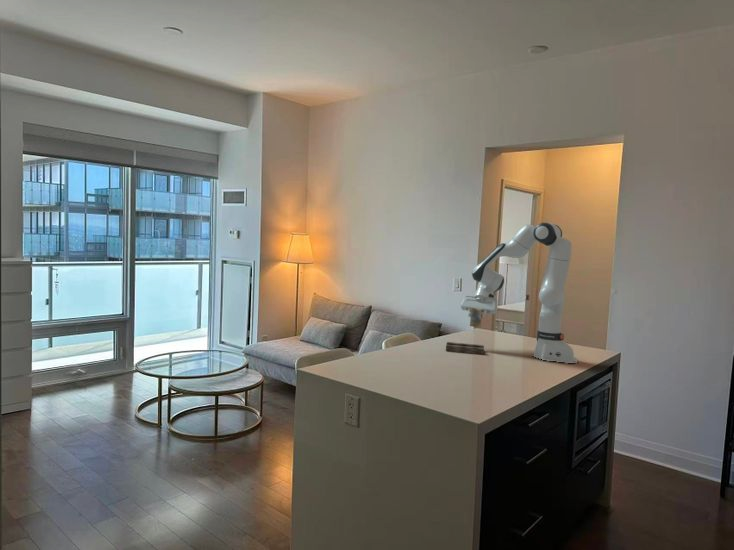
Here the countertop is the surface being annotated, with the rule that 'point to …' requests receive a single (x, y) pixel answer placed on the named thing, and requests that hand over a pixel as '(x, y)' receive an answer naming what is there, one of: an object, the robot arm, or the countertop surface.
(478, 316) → the wooden block
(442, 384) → the countertop surface
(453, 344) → the bridge
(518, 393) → the countertop surface
